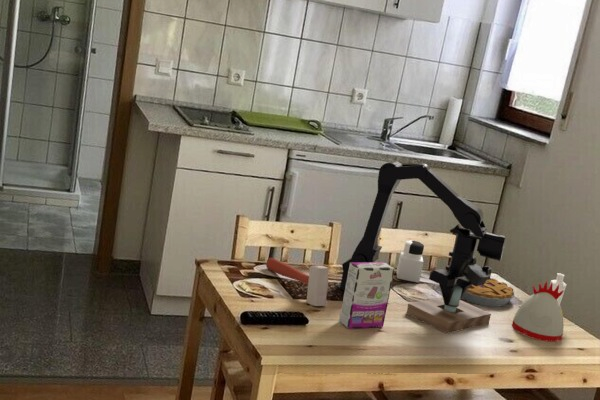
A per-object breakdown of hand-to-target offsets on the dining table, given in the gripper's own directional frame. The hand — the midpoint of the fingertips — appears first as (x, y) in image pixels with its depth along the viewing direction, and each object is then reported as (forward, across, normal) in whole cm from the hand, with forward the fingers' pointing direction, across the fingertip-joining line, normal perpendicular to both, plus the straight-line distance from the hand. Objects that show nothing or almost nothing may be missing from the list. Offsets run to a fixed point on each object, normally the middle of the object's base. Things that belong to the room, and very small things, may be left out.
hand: (451, 304), depth 213 cm
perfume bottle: (+4, +33, -13) cm, 36 cm away
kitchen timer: (+5, +21, -16) cm, 27 cm away
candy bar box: (+5, -30, +6) cm, 31 cm away
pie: (+5, +29, +10) cm, 31 cm away
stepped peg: (+3, 0, 0) cm, 3 cm away
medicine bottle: (+5, +17, +29) cm, 34 cm away
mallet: (+5, -29, +33) cm, 45 cm away
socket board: (+4, 0, 0) cm, 4 cm away
